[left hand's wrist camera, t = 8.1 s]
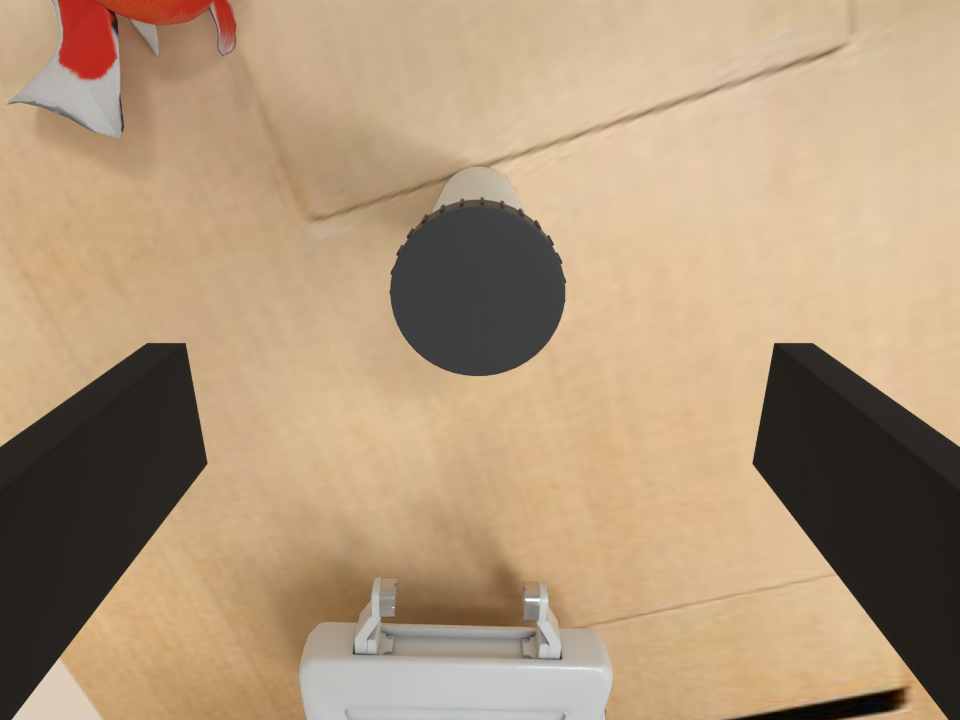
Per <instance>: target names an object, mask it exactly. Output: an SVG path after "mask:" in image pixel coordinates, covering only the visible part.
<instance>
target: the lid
mask: <svg viewBox="0 0 960 720" xmlns="http://www.w3.org/2000/svg"><path fill="white" fill-rule="evenodd" d="M407 238H408V239H407V241H406V243H405V244H404V245H401V247H400V249H399V250H398V252H397V254H396V255H397V256H398V258H397V260H396V263H395V265H394V267H393V269H392V271H391V275H392V278H391V289H390V295H391V305H392V309H393V314H394V317H395V319H396V322H397V325H398V327H399V329H400V331H401V332H402V334H403V336H404V337H405V339H406V340H407V341H408V343H409V344H410V345H411V346H412V347H413V348H414V350H415V351H416V352H417V353H419V354H420V355H421V356H422V357H423V358H425V359H426V360H428V361H429V362H431V363H432V364H434V365H436V366H438V367H440V368H442V369H444V370H447V371H450V372H453V373H457V374H462V375H469V376H487V375H494V374H499V373H503V372H506V371H509V370H511V369H514V368H516V367H518V366H520V365H522V364H524V363H525V362H527V361H528V360H530V359H531V358H532V357H534V356H535V355H536V354H537V353H538V352H539V351H540V350H541V349H542V348H543V347H544V346H545V345H546V344H547V343H548V341H549V340H550V339H551V337H552V335H553V334H554V332H555V331H556V328H557V326H558V324H559V322H560V319H561V316H562V313H563V309H564V303H565V283H566V279H565V277H564V274H563V271H562V267H561V264H562V260H561V258H560V256H559V255H558V253H556V252H555V250H554V248H553V247H552V246H553V245H554V243H553V241H552V240H551V238H550V236H549V235H548V236H546V235H545V233H544V232H543V231H542V229H541V227H540V225H539V223H538V221H537V220H535V221H533V220H532V219H531V218H530V217H528V216H527V215H525V214H524V212H523V210H522V209H521V208H519V210H517V209H516V208H514V207H511V206H509V205H506V204H505V203H504V201H502V200H501V202H496V201H491V200H484V197H481V199H479V200H465V201H464V198H463V199H460V201H459V202H456V203H453V204H449V205H447V206H445V205H444V204H443V205H441V207H440V209H438V210H437V211H435V212H433V213H432V214H430V215H429V216H428V215H427V214H426V215H425V216H424V218H423V219H422V221H421V223H420V224H419V225H418V226H417V227H416V228H415V229H413V228H412V229H411V230H410V232H409V234H408V235H407Z"/></svg>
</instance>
